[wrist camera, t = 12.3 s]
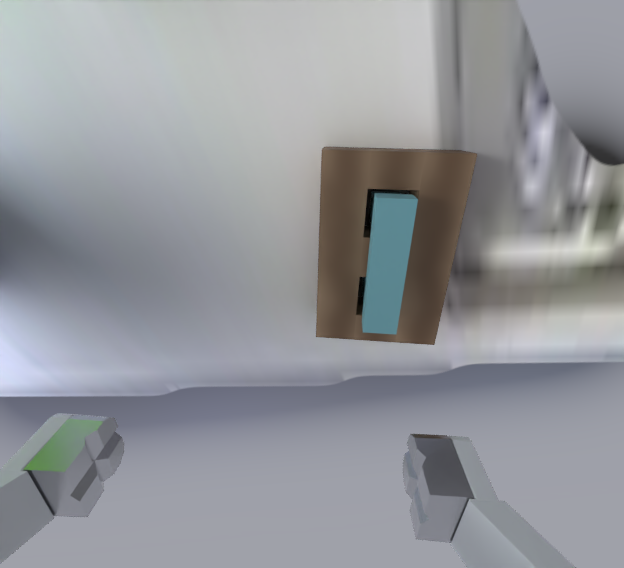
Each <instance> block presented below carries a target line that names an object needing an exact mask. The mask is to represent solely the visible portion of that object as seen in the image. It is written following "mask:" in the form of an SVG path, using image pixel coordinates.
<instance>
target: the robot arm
mask: <svg viewBox="0 0 624 568" xmlns="http://www.w3.org/2000/svg"><path fill="white" fill-rule="evenodd" d="M117 427H118V425H117V422H116V420H115V418H110V417H98V416H86V415H76V414H61V413H58V414H56V415H54V416H52V417H50V418H49V419H48V420H47V421H46V422H45V423H44V424H43V425H42V426H41V428H40V429H39V430H38V431H37V432H36V433H35V434H34V435H33V436H32V437H31V438H30V439H29V440H28V441H27V442H26V443H25V444H24V445H23V446H22V448H20V450H19V451H18V452H17V453H16V454H15V455H14V456H13V457H12V458H11V459H10V460H9V461H8V462H7V463H6V464H5V465H4V466H3V468H2V469H0V564H1V563H2V562H3V561H4V560H6V559H7V558H8V557H9V556H10V555H11V554H13V553H14V552H15V551H16V550H17V549H19V547H21V546H22V545H23V544H24V543H26V542H27V541H28V540H29V539H30V538H31V537H33V536H34V535H35V534H36V533H37V532H39V531H40V530H41V529H42V528H43V527H44V526H45V525H47V524H48V523H49V522H50V521H52V520H53V519H54V516H67V517H68V516H69V517H88V516H89V514H90V512H91V511H92V509H93V507H94V506H95V504H96V502H97V501H98V499H99V498H100V496H101V494H102V493H103V491H104V483H103V482H104V481H105V480H106V479H108V478H109V477H110V476H112V475H113V474H114V473H115V471H116V470H117V468H118V466H119V465H120V463H121V459H122V456H123V453H124V442H123V439H122V437H121V436H120V435H119V434H117V433H116V432H115V430H116V429H117ZM407 444H408V449H409V451H408V452H407V453H405V455H404V460H403V478H404V485H405V489H406V493H407V494H408V495H409V496H410V497H411V498H412V503H411V507H410V513H411V518H412V523H413V528H414V532H415V537H416V539H418V540H429V541H439V542H449V543H451V546H452V547H453V549H454V550H455V551H456V553H457V554H458V556H459V557H460V558H461V560H462V561H463V563H464V564H465V565H466V567H467V568H576V567H575V566H574V565H573V564H571V563H570V562H569V561H568V560H567V559H566V558H565V557H564V556H563V555H562V554H561V553H560V552H558V550H557V549H555V548H554V547H553V546H552V545H551V544H550V543H549V542H548V541H547V540H546V539H545V538H544V537H543V536H542V535H541V534H539V533H538V532H537V531H536V530H535V529H534V528H533V527H532V526H531V525H530V524H529V523H528V522H527V521H526V520H525V519H524V518H522V517H521V516H520V515H519V514H518V513H517V512H516V511H515V510H514V509H513V508H512V507H511V506H510V505H508V503H507V502H505V501H499V500H498V498H497V495H496V493H495V491H494V489H493V487H492V485H491V482H490V480H489V478H488V476H487V474H486V472H485V469H484V467H483V465H482V463H481V461H480V458H479V456H478V454H477V452H476V450H475V447H474V446H473V443H472V441H471V440H470V439H469V438H468V437H456V436H447V435H446V436H445V435H424V434H411V435H410V436H409V438H408V442H407Z"/></svg>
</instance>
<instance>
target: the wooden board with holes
mask: <svg viewBox="0 0 624 568" xmlns="http://www.w3.org/2000/svg"><path fill="white" fill-rule="evenodd" d="M476 157H477V154H476V153H471V152H466V151H461V150H424V149H386V148H349V147H324V148H323V149H322V161H321V194H320V226H319V259H318V291H317V323H316V337H325V338H340V339H355V340H370V341H385V342H400V343H415V344H430V345H434V344H435V339H436V335H437V330H438V326H439V321H440V317H441V313H442V308H443V304H444V299H445V295H446V290H447V286H448V282H449V277H450V273H451V268H452V264H453V259H454V255H455V250H456V246H457V242H458V237H459V233H460V228H461V224H462V219H463V215H464V211H465V206H466V202H467V197H468V193H469V188H470V184H471V180H472V175H473V171H474V166H475V162H476ZM368 189H391V190H409V194H413V195H414V196H415V197H416V198H417V199H418V203H417V209H416V215H415V221H414V228H413V234H412V240H411V246H410V253H409V259H408V265H407V271H406V278H405V284H404V290H403V296H402V302H401V309H400V315H399V321H398V327H397V334H381V333H365V332H363V329H362V312H363V298H362V297H358V289H359V278H360V277H366V273H367V263H368V254H369V244H370V234H371V226H365V225H364V224H365V213H366V203H367V192H368Z"/></svg>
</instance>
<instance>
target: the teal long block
mask: <svg viewBox="0 0 624 568" xmlns="http://www.w3.org/2000/svg"><path fill="white" fill-rule="evenodd" d="M417 203H418V199H417V198H416V197H415V196H414V195H413V194H400V192H381V191H371V201H370V211H369V221H370V224H371V234H370V244H369V254H368V263H367V273H366V277H363V283H362V298H363V312H362V329H363V332H365V333H381V334H397V327H398V321H399V315H400V309H401V302H402V296H403V290H404V284H405V278H406V271H407V265H408V259H409V253H410V246H411V240H412V234H413V228H414V221H415V215H416V209H417Z"/></svg>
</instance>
